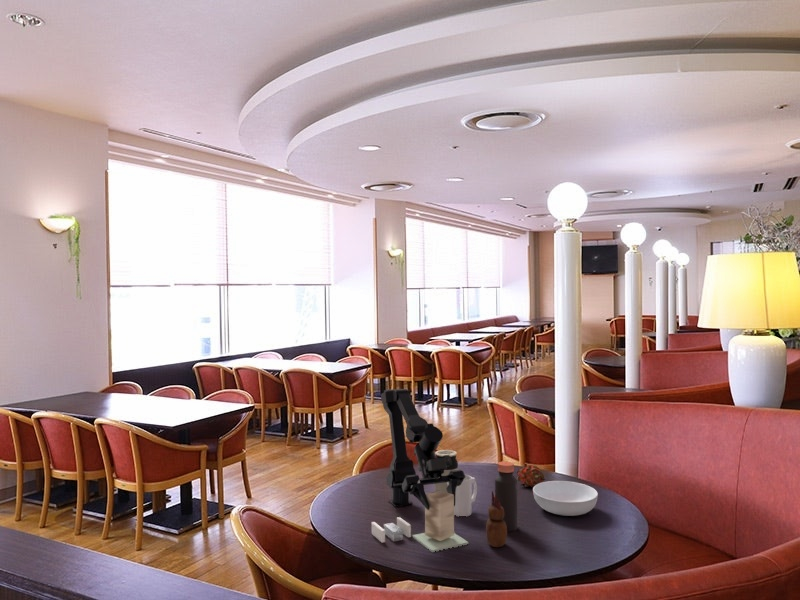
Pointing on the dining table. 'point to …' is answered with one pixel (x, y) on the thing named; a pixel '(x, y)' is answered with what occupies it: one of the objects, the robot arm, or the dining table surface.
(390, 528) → the bar
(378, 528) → the channel
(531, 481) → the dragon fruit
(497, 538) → the wooden figurine
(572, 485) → the serving bowl
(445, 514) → the block
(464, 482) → the mug
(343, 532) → the dining table surface
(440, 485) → the travel mug
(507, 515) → the bottle
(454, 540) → the mat
